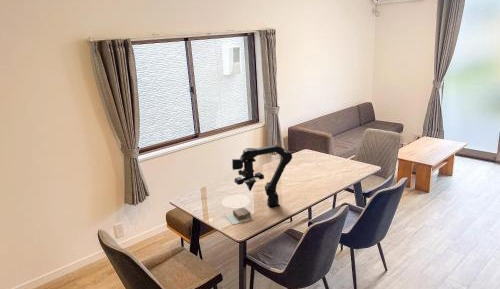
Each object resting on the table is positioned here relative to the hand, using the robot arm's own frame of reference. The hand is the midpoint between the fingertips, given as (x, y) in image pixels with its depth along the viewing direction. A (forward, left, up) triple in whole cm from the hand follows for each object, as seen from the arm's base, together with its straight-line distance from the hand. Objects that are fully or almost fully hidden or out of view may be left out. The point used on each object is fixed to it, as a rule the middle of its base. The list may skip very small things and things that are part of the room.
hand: (250, 190), depth 236 cm
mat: (+13, +8, -12) cm, 20 cm away
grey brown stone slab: (+6, +8, -10) cm, 14 cm away
